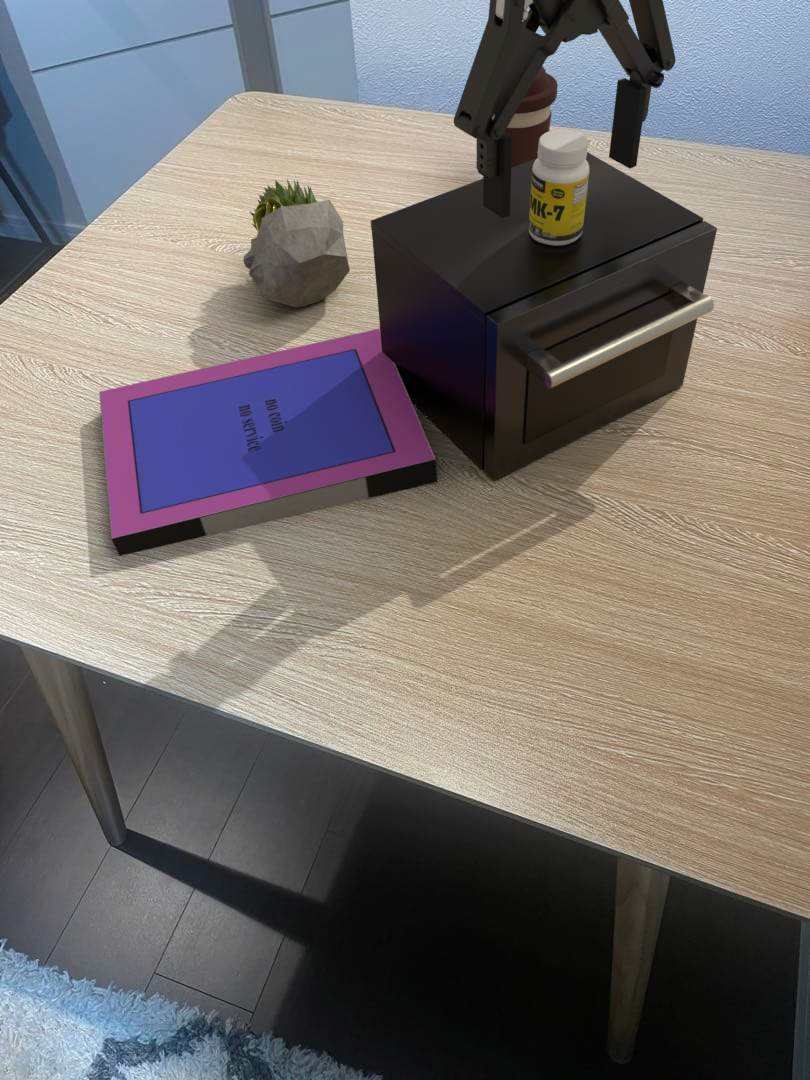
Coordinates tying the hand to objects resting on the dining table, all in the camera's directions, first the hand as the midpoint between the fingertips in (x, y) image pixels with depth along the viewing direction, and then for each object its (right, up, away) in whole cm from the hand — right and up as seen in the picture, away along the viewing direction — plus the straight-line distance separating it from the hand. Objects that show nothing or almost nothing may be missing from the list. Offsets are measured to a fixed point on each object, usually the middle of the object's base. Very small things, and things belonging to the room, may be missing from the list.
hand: (561, 186), depth 78 cm
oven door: (+6, -20, +12) cm, 24 cm away
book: (-27, -21, +14) cm, 37 cm away
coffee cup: (+1, +17, +45) cm, 48 cm away
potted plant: (-26, 0, +32) cm, 42 cm away
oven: (-1, -13, +19) cm, 23 cm away
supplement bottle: (0, -3, +4) cm, 5 cm away
